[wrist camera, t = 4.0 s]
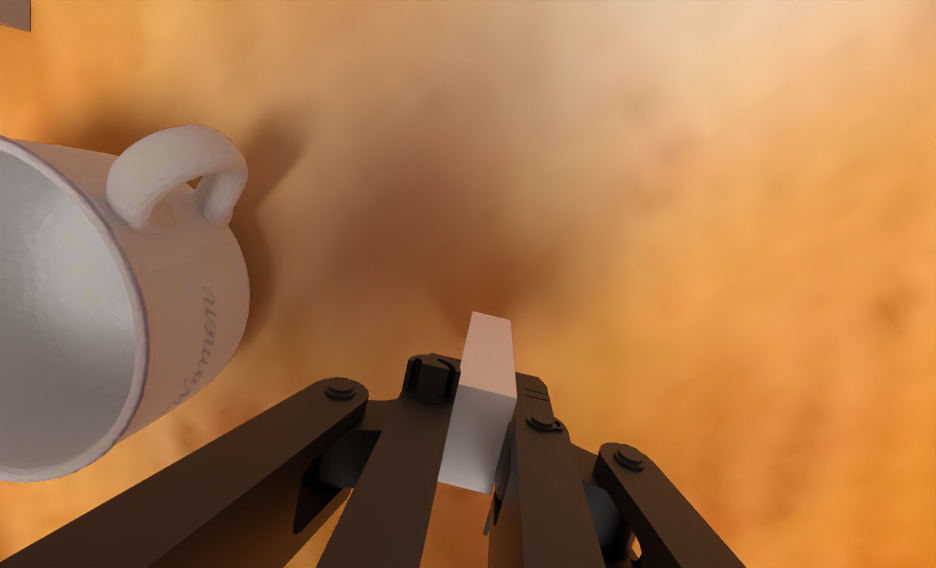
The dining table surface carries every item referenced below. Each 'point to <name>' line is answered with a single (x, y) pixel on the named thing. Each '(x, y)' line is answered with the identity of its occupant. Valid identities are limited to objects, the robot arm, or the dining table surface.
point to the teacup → (112, 290)
